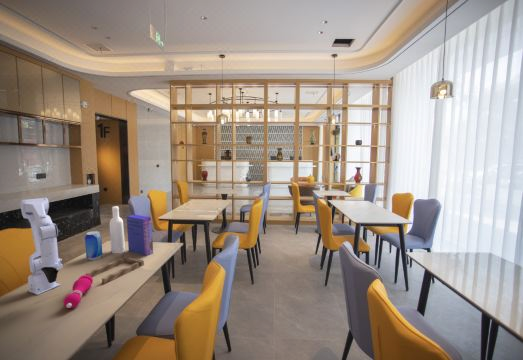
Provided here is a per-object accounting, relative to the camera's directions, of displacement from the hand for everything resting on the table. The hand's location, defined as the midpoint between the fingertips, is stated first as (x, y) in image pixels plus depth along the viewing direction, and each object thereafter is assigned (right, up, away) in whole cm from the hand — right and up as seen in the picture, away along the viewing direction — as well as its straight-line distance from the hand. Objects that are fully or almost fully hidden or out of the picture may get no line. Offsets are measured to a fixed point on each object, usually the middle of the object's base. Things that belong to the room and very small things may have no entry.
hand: (52, 281), depth 112 cm
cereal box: (+13, -2, +54) cm, 56 cm away
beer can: (-11, -3, +46) cm, 47 cm away
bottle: (-2, -2, +56) cm, 56 cm away
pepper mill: (+8, -4, +10) cm, 13 cm away
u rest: (+12, -5, +27) cm, 30 cm away
